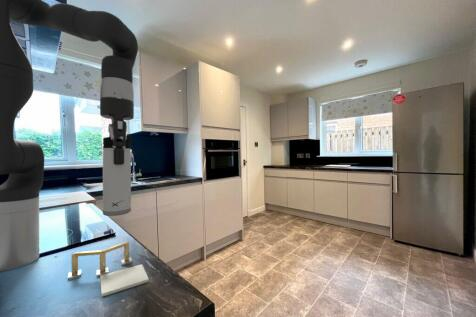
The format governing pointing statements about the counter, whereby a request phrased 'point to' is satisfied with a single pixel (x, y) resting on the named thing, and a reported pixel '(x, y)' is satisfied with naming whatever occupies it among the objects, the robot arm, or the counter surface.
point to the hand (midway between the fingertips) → (117, 164)
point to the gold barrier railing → (102, 253)
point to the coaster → (123, 279)
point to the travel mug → (116, 180)
